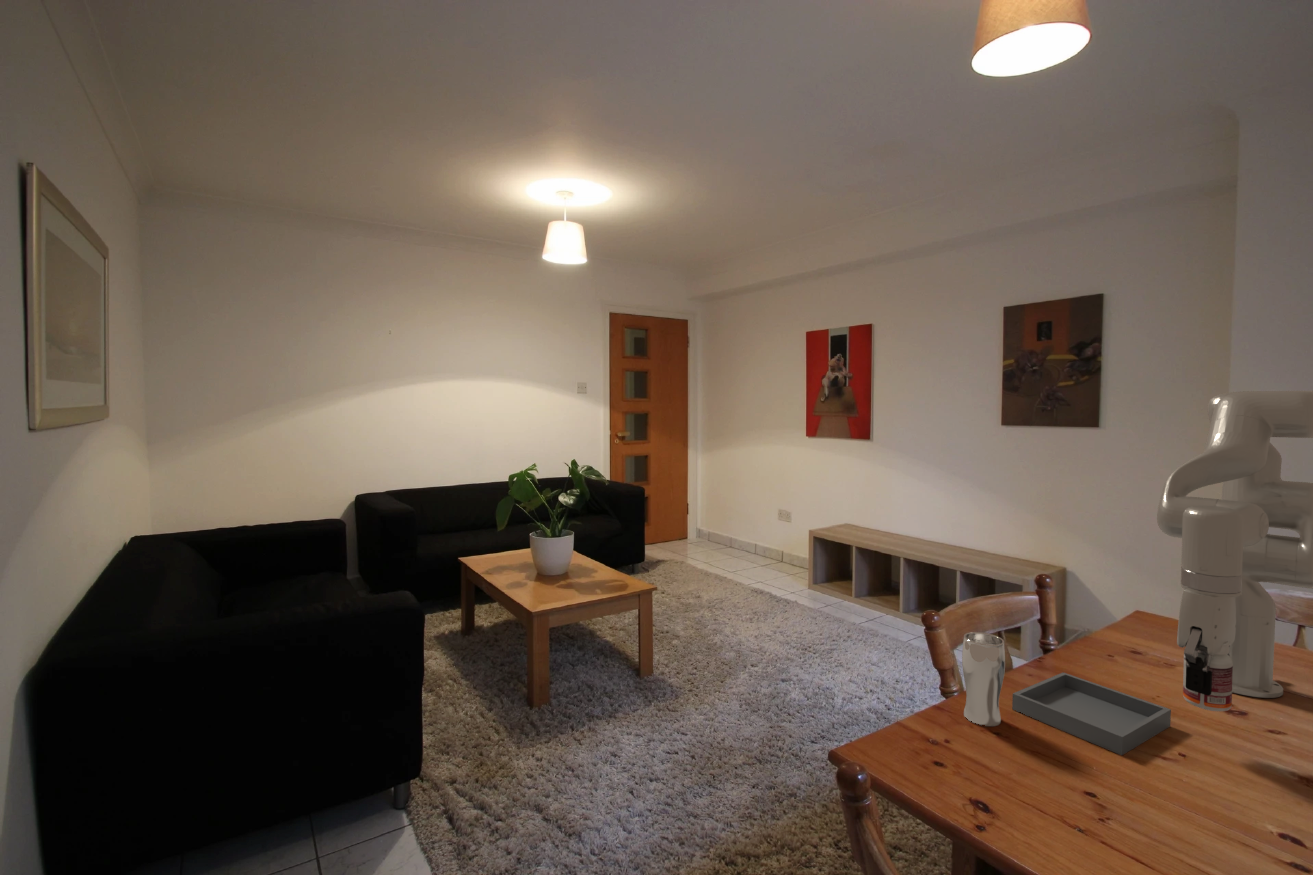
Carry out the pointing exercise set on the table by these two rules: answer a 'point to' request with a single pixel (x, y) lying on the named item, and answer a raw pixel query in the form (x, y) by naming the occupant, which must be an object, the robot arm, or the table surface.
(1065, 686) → the tray
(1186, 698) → the pill bottle
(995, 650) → the beer glass
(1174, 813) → the table surface
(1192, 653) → the robot arm
